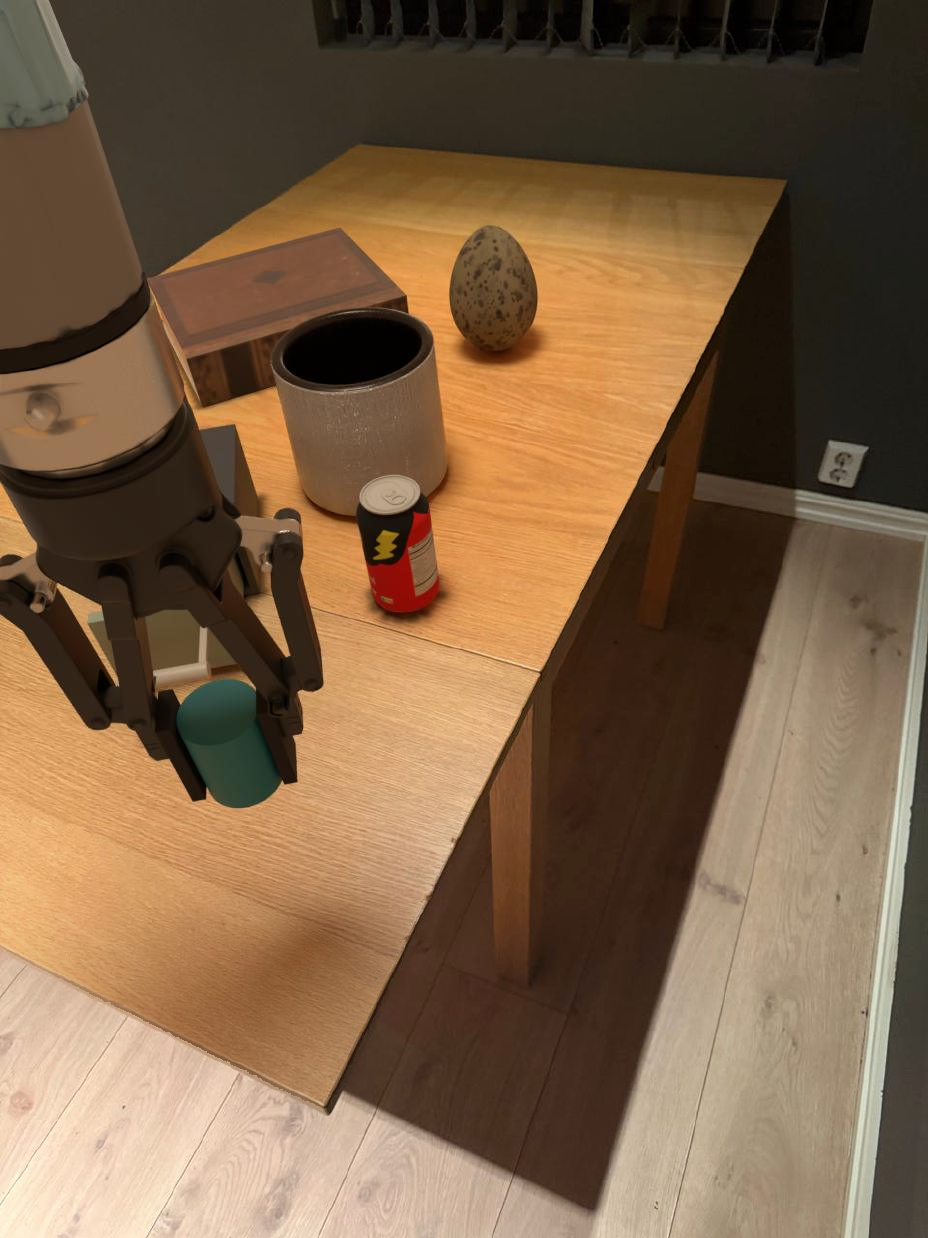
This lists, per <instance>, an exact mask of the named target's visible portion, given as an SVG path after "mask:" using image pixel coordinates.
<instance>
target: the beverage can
mask: <svg viewBox="0 0 928 1238" xmlns="http://www.w3.org/2000/svg"><path fill="white" fill-rule="evenodd" d="M355 519H356V524H357V528H358V531H359V532H358V533H359V539H360V543H361V547H362V551H363V556H364V561H365V565H366V571H367V576H368V581H369V584H370V585H369V586H370V589H371V590H370V591H371V594H372V597H373V599H374V600H375V602H376V603H377V604H378V605H379V606H381V607H382V608H384V609H385V610H387V611H390V612H394V613H412V612H415V611H419V610H421V609H423V608H425V607H426V606H428V605H430V604H431V602H432V601H433V600H434V599H435V598H436V596H437V595H438V593H439V590H440V576H439V568H438V561H437V554H436V553H437V552H436V546H435V539H434V538H435V537H434V530H433V523H432V515H431V508H430V503H429V501H428V498H427V497H425V496H424V495H423V494H422V493H421V492H420V488H419V485H418V484H417V483H416V482H415V481H414V480H413V479H411V478H409V477H406V476H401V475H387V476H382V477H379V478H376V479H374V480H372V481H370V482H369V483H367V484H366V485H365V486H364V487H363V489H362V490H361V492H360V502H359V504H358V506H357V510H356V516H355Z"/></svg>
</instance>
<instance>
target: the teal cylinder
mask: <svg viewBox="0 0 928 1238" xmlns="http://www.w3.org/2000/svg"><path fill="white" fill-rule="evenodd" d="M176 726H177V729H178V732H179V734H180V736H181V738H182V740H183V742H184V744H185V746H186V748H187V749H188V751H189V753H190V755H191V757H192V759H193V761H194V763H195V765H196V767H197V769H198V771H199V773H200V775H201V777H202V779H203V781H204V783H205V785H206V787H207V791H208V793H209V795H210V796H211V798H212V799H213V800H214V801H215V802H217V803H218V804H220V805H221V806H224V807H226V808H230V809H247V808H250V807H254V806H257V805H259V804H261V803H263V802H264V801H266V800H268V799H269V798H270V797H271V796H272V795H274V794H275V792H276V791H277V790H279V787H280V786H281V784H282V783H283V780H282V778H281V775H280V773H279V770H278V768H277V765H276V763H275V760H274V758H273V755H272V753H271V750H270V748H269V745H268V743H267V740H266V738H265V735H264V733H263V730H262V728H261V725H260V723H259V720H258V718H257V715H256V688H254V687H253V685H250V684H249V683H248V682H245V681H243V680H239V679H235V678H221V679H216V680H212V681H209V682H207V683H204V684H202V685H200V686H198V687H197V688H195V689H194V690H193V691H191V692H190V693H189V694H188V695H187V696H186V697H185V698H184V699H183V700H182V702H181V703H180V707H179V709H178V712H177V716H176Z"/></svg>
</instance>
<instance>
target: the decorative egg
mask: <svg viewBox="0 0 928 1238" xmlns="http://www.w3.org/2000/svg"><path fill="white" fill-rule="evenodd" d="M448 293H449V294H448V296H449V298H448V299H449V309H450V312H451V316H452V319H453V322H454V324H455V326H456V328H457V329H458V331H459V333H460V334H461V335H462V336H463V337H464V338H465V339H466V340H467V341H468V342H469V343H470V344H471V345H473V346H475V347H477V348H479V349H482V350H485V351H489V352H498V351H505V350H507V349H509V348H512V347H513V346H515V345H516V344H518V343H519V342H521V340H522V339H524V337H525V336H526V335H527V334H528V332H529V331H530V329H531V327H532V325H533V323H534V321H535V318H536V314H537V310H538V300H539V298H538V297H539V293H538V285H537V280H536V275H535V272H534V269H533V267H532V263H531V262H530V259H529V257H528V255H527V254H526V252H525V250H524V248H523V247H522V245H521V244H520V243H519V242H518V240H517V239H516V238H515V237H514V236H513V235H512V234H511V233H510V232H509V231H507V230H506V229H504V228H503V227H500V226H497V225H495V224H494V225H493V224H487V225H484V226H481V227H479V228H478V229H476V230H475V231H474V232H472V233H471V235H469V237H468V238H467V239H466V241H465V242H464V243H463V245H462V246H461V249H460V250H459V252H458V254H457V256H456V258H455V261H454V264H453V267H452V270H451V275H450V281H449V291H448Z"/></svg>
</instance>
